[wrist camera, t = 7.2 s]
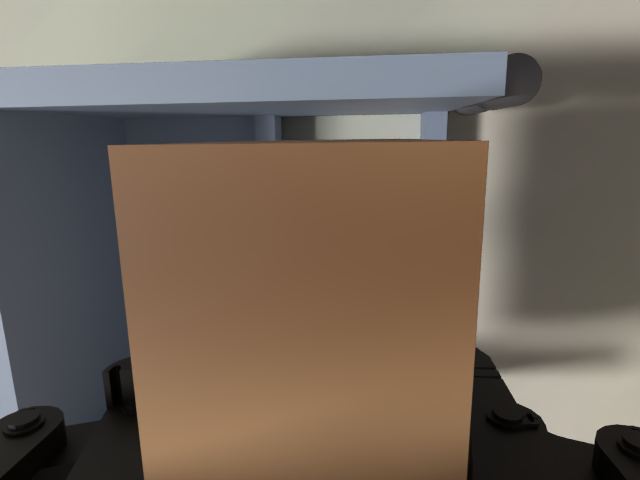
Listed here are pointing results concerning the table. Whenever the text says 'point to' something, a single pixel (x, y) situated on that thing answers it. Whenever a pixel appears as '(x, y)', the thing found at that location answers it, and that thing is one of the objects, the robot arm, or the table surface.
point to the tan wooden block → (302, 305)
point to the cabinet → (163, 128)
